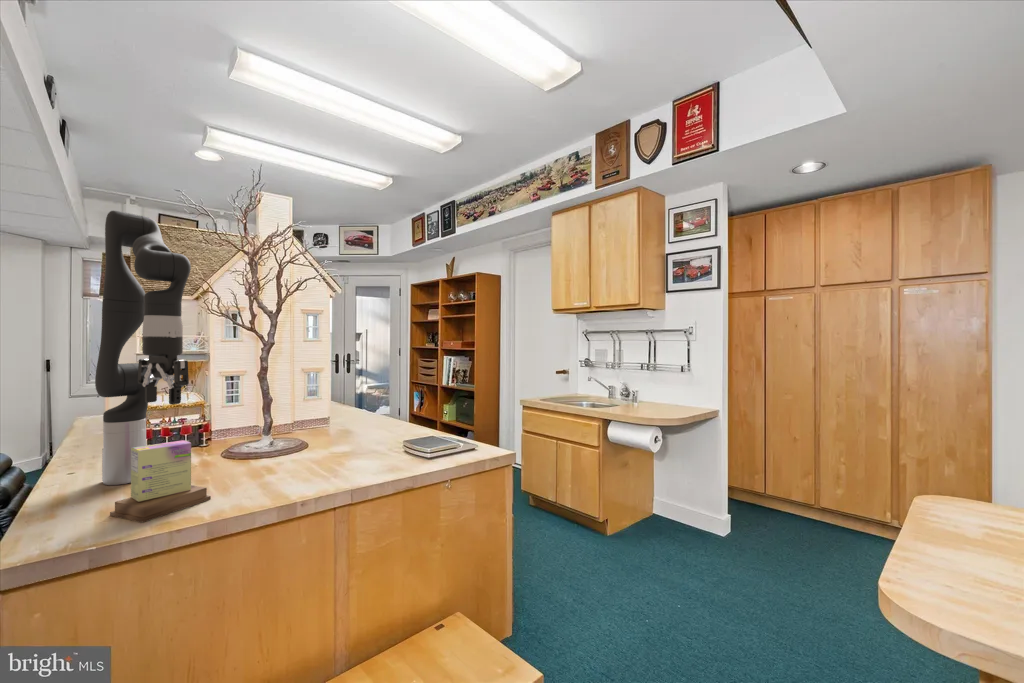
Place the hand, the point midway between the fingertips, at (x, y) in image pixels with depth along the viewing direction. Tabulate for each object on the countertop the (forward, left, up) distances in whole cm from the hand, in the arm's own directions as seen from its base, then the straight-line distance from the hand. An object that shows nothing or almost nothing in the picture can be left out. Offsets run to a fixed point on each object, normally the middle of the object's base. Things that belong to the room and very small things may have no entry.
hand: (162, 403), depth 106 cm
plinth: (0, 0, -25) cm, 25 cm away
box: (-1, 0, -22) cm, 22 cm away
